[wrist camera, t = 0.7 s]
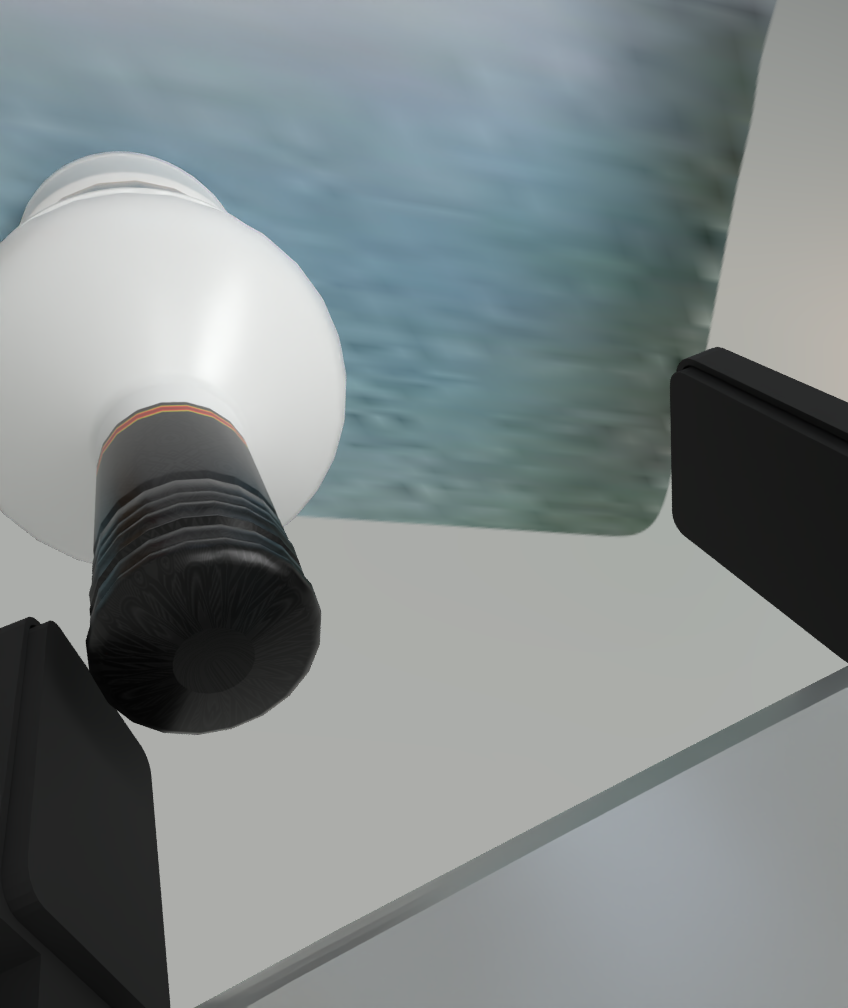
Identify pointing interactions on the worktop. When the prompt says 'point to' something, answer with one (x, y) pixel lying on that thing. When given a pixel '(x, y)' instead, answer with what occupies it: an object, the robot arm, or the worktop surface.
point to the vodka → (168, 433)
